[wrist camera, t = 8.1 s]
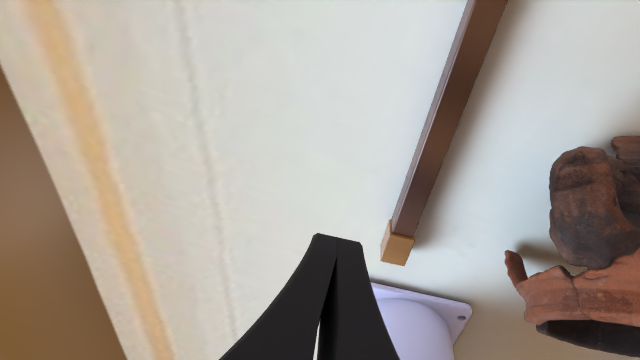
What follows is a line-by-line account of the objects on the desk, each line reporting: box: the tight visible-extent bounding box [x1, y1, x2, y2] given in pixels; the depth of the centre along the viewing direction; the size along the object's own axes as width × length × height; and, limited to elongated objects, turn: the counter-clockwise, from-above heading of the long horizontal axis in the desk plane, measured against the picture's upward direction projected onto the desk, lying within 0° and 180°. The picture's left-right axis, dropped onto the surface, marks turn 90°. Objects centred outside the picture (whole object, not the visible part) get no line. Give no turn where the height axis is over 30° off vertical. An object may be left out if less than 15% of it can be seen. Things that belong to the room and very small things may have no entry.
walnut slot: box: [381, 0, 508, 266], centre depth 16 cm, size 20×18×1 cm
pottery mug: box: [505, 136, 640, 358], centre depth 17 cm, size 12×10×8 cm
